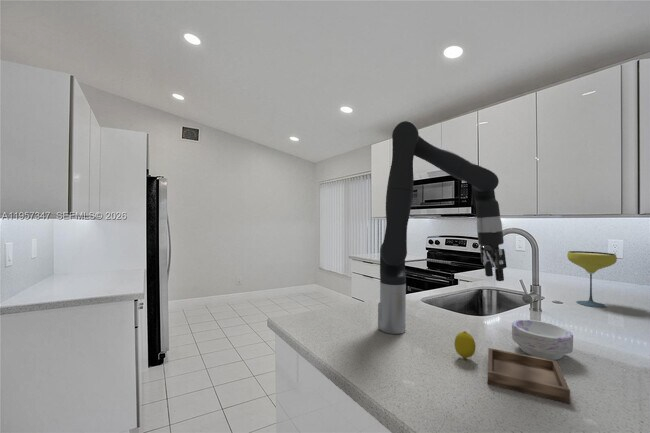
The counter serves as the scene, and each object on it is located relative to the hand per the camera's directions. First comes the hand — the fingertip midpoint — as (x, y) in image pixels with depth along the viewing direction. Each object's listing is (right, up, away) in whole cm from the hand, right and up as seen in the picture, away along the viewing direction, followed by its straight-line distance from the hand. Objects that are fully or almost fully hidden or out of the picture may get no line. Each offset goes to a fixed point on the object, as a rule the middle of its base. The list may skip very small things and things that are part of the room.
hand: (494, 278), depth 101 cm
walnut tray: (-6, -21, -24) cm, 32 cm away
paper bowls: (+9, -21, -10) cm, 25 cm away
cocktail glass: (+73, -22, +45) cm, 88 cm away
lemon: (-16, -21, -14) cm, 30 cm away
